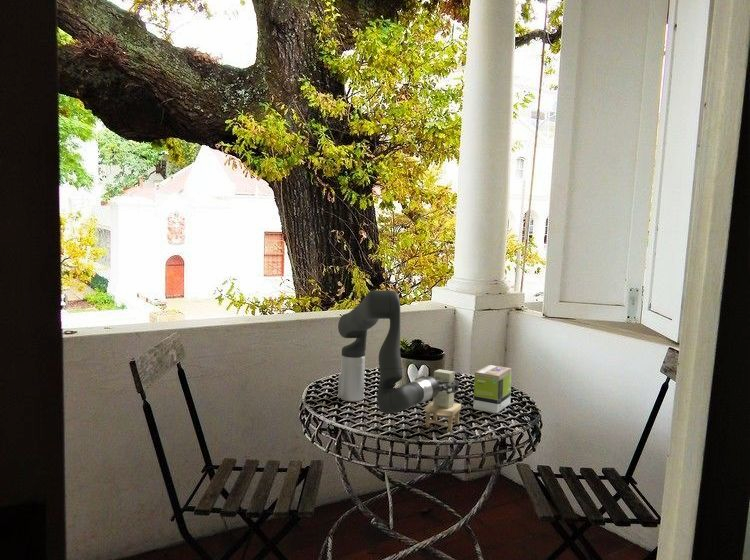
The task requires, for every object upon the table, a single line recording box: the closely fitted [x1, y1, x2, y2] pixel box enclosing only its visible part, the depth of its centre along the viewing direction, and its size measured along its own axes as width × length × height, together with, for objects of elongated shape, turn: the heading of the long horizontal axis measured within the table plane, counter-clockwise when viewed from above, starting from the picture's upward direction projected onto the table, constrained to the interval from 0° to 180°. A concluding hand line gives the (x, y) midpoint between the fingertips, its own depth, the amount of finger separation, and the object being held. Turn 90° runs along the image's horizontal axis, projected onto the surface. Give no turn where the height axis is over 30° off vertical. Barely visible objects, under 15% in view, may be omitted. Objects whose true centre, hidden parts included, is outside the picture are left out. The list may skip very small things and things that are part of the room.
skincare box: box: [432, 368, 456, 408], centre depth 222 cm, size 6×4×12 cm
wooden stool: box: [424, 400, 462, 432], centre depth 223 cm, size 10×10×7 cm
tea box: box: [472, 364, 513, 414], centre depth 247 cm, size 15×10×15 cm, turn 149°
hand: (446, 380), depth 223 cm, fingers open, 8 cm apart
